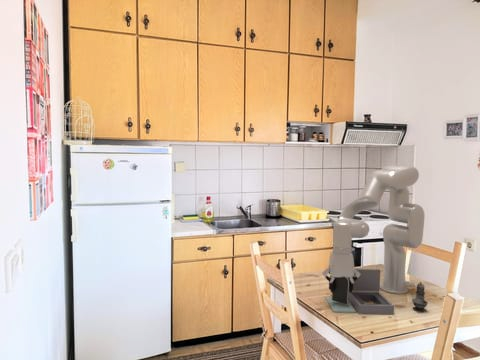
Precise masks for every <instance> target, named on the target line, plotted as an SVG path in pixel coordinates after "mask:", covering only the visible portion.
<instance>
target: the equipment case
mask: <svg viewBox="0 0 480 360" xmlns="http://www.w3.org/2000/svg"><path fill="white" fill-rule="evenodd" d="M355 269H356V270H357V271H358V272H359V273H360V274H361V275H360V276H359V277H358V278H357V280H356V281H355V282H354V283H353V290H352V293H350V292H349V293H348V301H349V303H350V304H351V305H352V307H353V308H354V309H355V311H356V312H357V313H358V314H359V315H394V313H395V305H394V304H393V303H391V302H390V300H388V298H386V296H384V295H383V293H381V289H380V284H381V269H380V268H378V269H377V268H373V269H372V268H371V269H370V268H355ZM355 275H356V273H355V272H354V276H355ZM365 302H372V303H365Z"/></svg>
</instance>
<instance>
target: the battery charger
mask: <svg viewBox="0 0 480 360" xmlns="http://www.w3.org/2000/svg"><path fill="white" fill-rule="evenodd" d="M333 283H334V292H331V294H332V297H331V298H332V300H333V301H336V302H340V303H344V304H347V303H348V301H349V300H348V293H349V289H350V279H349V278H348V277H340V278H337V277H335V279H334V281H333Z"/></svg>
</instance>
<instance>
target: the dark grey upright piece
mask: <svg viewBox="0 0 480 360" xmlns="http://www.w3.org/2000/svg"><path fill="white" fill-rule="evenodd" d="M425 294H426V292H425V285H424V284H423V283H422V281H420V282H419V283H417V284H416V291H415V298H413V299H411V301H412V304H413V307H412V310H413V311H415V312H418V313H427V312H428V311H427V309H426V307H427V306H428V304H429V303H428V301H427V300H426V299H425Z"/></svg>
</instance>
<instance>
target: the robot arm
mask: <svg viewBox="0 0 480 360" xmlns="http://www.w3.org/2000/svg"><path fill="white" fill-rule="evenodd" d="M419 177H420V173H419V170H418V168H416V167H415V166H411V165H386V166H385V165H384V166H383V167H382V168H381V169H380V170H379V169H377V170H374V171H372V172H371V174H370V175H369V177H368V179H367V181H366V183H365V185H364V186H363V189H362V191H361V193H360V195H359V196H358V197H356V198H355V199H353V200H351V201H350V202H349V203H348V204H346V206H345V207H344V208H343V209H342V211H341V213H340V215H339V217H338V218H337V220H336V221H334V223H333V230H332V231H333V233H332V234H333V236H332V251H331V252H330V254H329V259H328V267H327V268H326V269H324V270H323V271H322V272H321V274H322V276H324V278H325V279H326V280H327V281H328V289H329V291H330V292H331V293H332V292H334V283H333V281H334V279H335V277H337V278H340V277H348V278H349V279H350V289H349V292H350V293H352V290H353V283H354V282H355V281H356V280H357V278H358V277H359V276H360V275H361V274H360V273H359V272H358V271H357V270H356V269H357V268H355V262H354V261H355V260H354V259H355V258H354V254H353V252H355V247H352V241H353V239H364V238H366V237H367V236H368V235H369V233H370V226H369V225H368V223H367V222H365V221H364V220H360V219H356V218H354V217H355V216H356V215H358V214H359V213H361V212H363V211H366V210H370V209H373V208H375V207H377V206H379V203H380V201H381V198H382V197H383V195H384V194H385V193H384V192H386V190H388V192H389V198H388V199H389V200H388V201H389V202H388V209H387V210H388V212H387V213H388V214H387V215H388V218H389V219H390V220H391V221H393V222H398V223H402V224H407V225H408V226H407V225H402V224H398V223H397V224H395V223H391V224H387V225H386V226H384V228H383V231H382V237H383V246H384V253H383V255H384V256H383V278H382V280H383V281H382V283H381V282H380V290H381V291H384V292H386V293H391V294H399V295H403V294H407V293H408V292H409V289H408V288H409V287H410V288H412V287H413V288H414V287H416V283H415V282H410V281H406V261H407V260H406V259H407V255H406V254H407V253H406V251H405V248H408V249H418V248H419V247H421V244H422V242H423V237H424V226H425V218H426V217H425V210H424V208H423V207H422V206H421V205H420V204H417V203H412V202H411V203H410V191H409V188H408V187H411V186H413V185H415V184H416V183H417V181H418V180H419ZM354 272H355V273H356V275H355V276H354ZM328 274H329V276H328Z"/></svg>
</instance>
